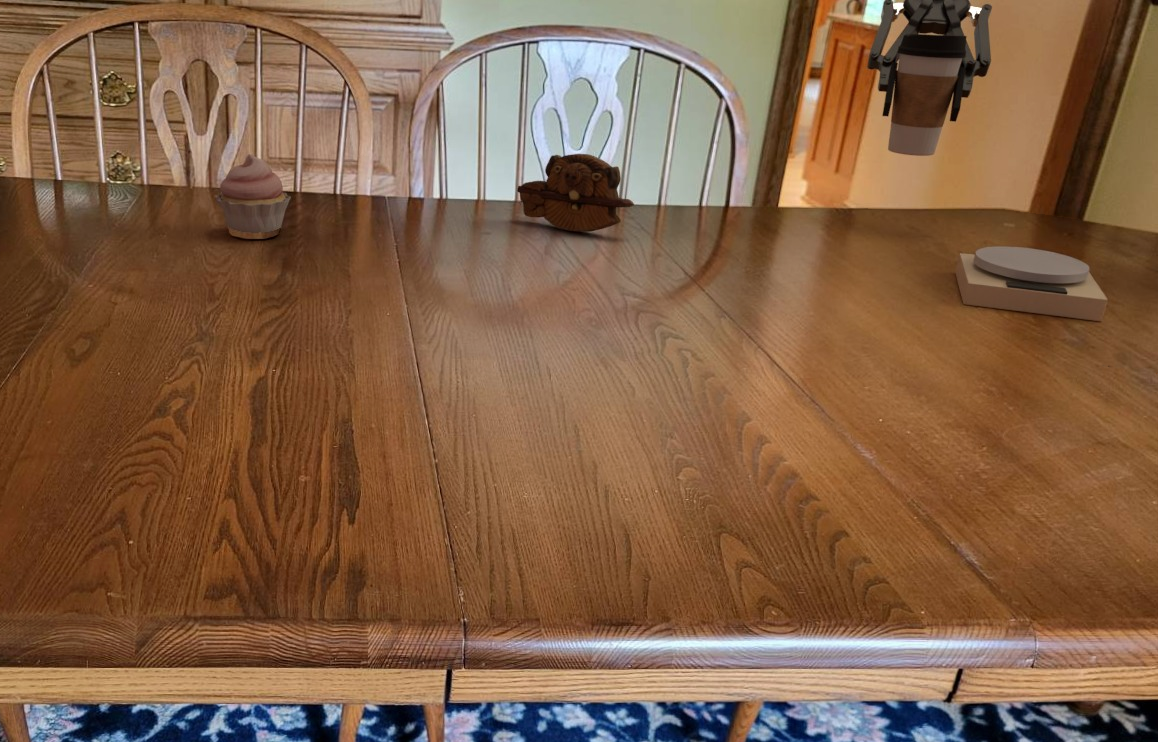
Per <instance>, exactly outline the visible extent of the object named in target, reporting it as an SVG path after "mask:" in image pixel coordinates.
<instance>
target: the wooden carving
mask: <svg viewBox="0 0 1158 742" xmlns="http://www.w3.org/2000/svg"><path fill="white" fill-rule="evenodd" d="M544 171H545V175H546V177H547V178H546V181H545V180H533V181H528V182H527V181H526V182H524V183H523V184H521V185H518V186H517V191H516V192H517V193H519V199H520V201H521V202H522V210H523V214H524V216H525V217H528V218H544V220H545V221H547V222H548V223H549V224H551V225H552V226H554V227H557V228H559V229H561V230H564V231H570V232H594V231H595V232H596V231H600V230H604V229H607V228H610V227H613V226H616V225H617V224H620V223H621V221H622V219H621V218H620V217H619V216H618V214H617V208H631V207H633V206H634V205H635V203H634V202H633V200H631V199H629V198H621V197H620V195H619V191H618V187H619V185H620V184H621V181H622V179H621V171H620V168H619V166H612V165H610V164H609V163H608V162H606V161H605V160H604V159H602V158H599V157H598V156H595V155H592V154H588V153H575V154H567V155H560V154H555V155H551V156H550V157H549V159H548V162H547V164H546V166H545V169H544Z"/></svg>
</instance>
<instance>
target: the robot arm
mask: <svg viewBox="0 0 1158 742" xmlns="http://www.w3.org/2000/svg"><path fill="white" fill-rule="evenodd" d="M992 10H993V5H991V4H990V3H985V4H983V5H982V7H978V6H973V5H971V2H970V1H969V0H903V1H902V2H894V1H893V0H884V1H883V4H882V9H881V14H880V20H881V21H880V23H879V27H878V30H877V31H876V34H875V37H874V40H873V43H872V44H871V45H872V46H871V48H870V51H869V53H868V59H867V66H866V68H867V69H868V70H878V71H879V78H878V84H877V90H878V92H883V93H885V97H884V103H883V109H882V110H883V111H882V117H889V116H890V111H891V107H892V104H893V97H894V87H895V78H896V71H897V70H898V64H899V56H900V54H899V53H897V51H898V47H899V46H900V45H901V42H902V40H903V37H904V35H906V34H925V35H928V34H933V35H953V36H954V35H961V36H965V34H964V30H963V28H962V22H963V21H964V20H965V19H966V18H967V17H968V18H969V19H970V23H971V26H972V27H973V28H974V31H973V37H974V39H973V40H974V52H975V54H974V55H975V58H974V56H973V53H972V51H971V48H970V46H969V43H968V41H967V40H966V46H965V50H966V57H965V58H962V61H961V64H960V68H959V71H958V74H957V75H958V79H957V83H956V86H955V89H954V92H953V96H952V99H951V107H950V108H951V109H950V117H949V122H954V123H955V122H957V119H958V116H959V113H960V111H961V105H962V98H964V99H965V98H969V96H970V95H971V92H972V89H973V84H974V83H973V82H974V78H975V77H980V78H984V77H986V76H987V75H988V72H989V69H990V66H991V62H992V54H991V53H992V52H991V43H990V29H989V28H990V27H989V18H990V16H991V12H992ZM901 14H902V15H903V16H904V18H905V19H906V20H907V21H908V22H907V24H906V25H905V27H904V28H903V30H902V31H900V34H899V35H898V37H896V39H895V41H894V42H893V43H892V45H891V46H890V48H889V49H888V50H887V52H886V53H885V54H884V55H883V54H882V53H883V50H884V47H885V45H886V42H887V39H888V36H889V34H890V31H891V28H892V24H893V23H894V22H895V21H896V20H897V19H899V15H901Z"/></svg>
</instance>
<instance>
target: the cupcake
mask: <svg viewBox="0 0 1158 742" xmlns="http://www.w3.org/2000/svg"><path fill="white" fill-rule="evenodd" d="M283 190H284V186H283V182H282V180H281V177H279V175H278V174H276V173H275V172H273V171H272V168H271V167H270V166H269V164H268V163H266V161H264V160H263V159H261V158H259V157H257V156H254V155H253V154H251V153H249V154H248V155H247V156H246V157H245V160H244V162H243V163H242V164H238V165H235V166H233V167H232V168H231V169H230V170H229V171H228V173H227V175H226V176H225V178H224V179H223V180H221V182H220V184H219V191H220V194H216V195H214V198H215V200H216V202H217V203H218V205H219V207H220V208H221V209H222V213H223V216H224V220H225V223H226V226H227V227H226V228H228V227H229V228H231V229H233V230H237V231H241V232H251V233H259V232H261V233H262V232H270V231H274V230H277V229H279V228H281V229H282V225H283V221H284V217H285V213H286V210H287V208H288V205H289V202H290V200H291V196H290V195H288V193H287V192H283Z"/></svg>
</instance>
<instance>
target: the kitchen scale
mask: <svg viewBox="0 0 1158 742" xmlns="http://www.w3.org/2000/svg"><path fill="white" fill-rule="evenodd" d="M1090 269H1091V268H1090V266H1089V265H1088V264H1087V263H1086V262H1084V261H1082V260H1080V259H1077V258H1075V257H1073V256H1068V255H1066V254H1063V253H1062V254H1061V253H1057V252H1055V251H1048V250H1043V249H1037V248H1031V247H1022V246H1020V247H1019V246H1005V245H1003V246H1002V245H1001V246H1000V245H999V246H987V247H986V246H985V247H981V248H978V249H977V250H975V252H974V254H971V253H963V252H960V253H959V255H958V258H957V263H956V267H955V270H954V271H955V272H954V273H955V277H956V282H957V285H958V289H959V292H960V296H961V300H962V304H963V305H965V306H972V307H980V308H981V307H982V308H990V309H996V310H997V309H998V310H1004V311H1005V310H1006V311H1013V312H1014V311H1015V312H1020V313H1021V312H1023V313H1028V314H1029V313H1030V314H1037V315H1046V316H1054V317H1062V318H1070V319H1079V320H1085V321H1094V322H1102V320H1103V318H1104V314H1105V311H1106V308H1107V304H1108V301H1109V299H1108V298H1107V296H1106V294H1105V293H1104V292H1103V290H1102V289H1101V287H1100V286H1099V284H1098V283H1097V282H1096V280H1095V279H1094V277H1093V276H1092V274H1091V272H1090Z"/></svg>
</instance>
